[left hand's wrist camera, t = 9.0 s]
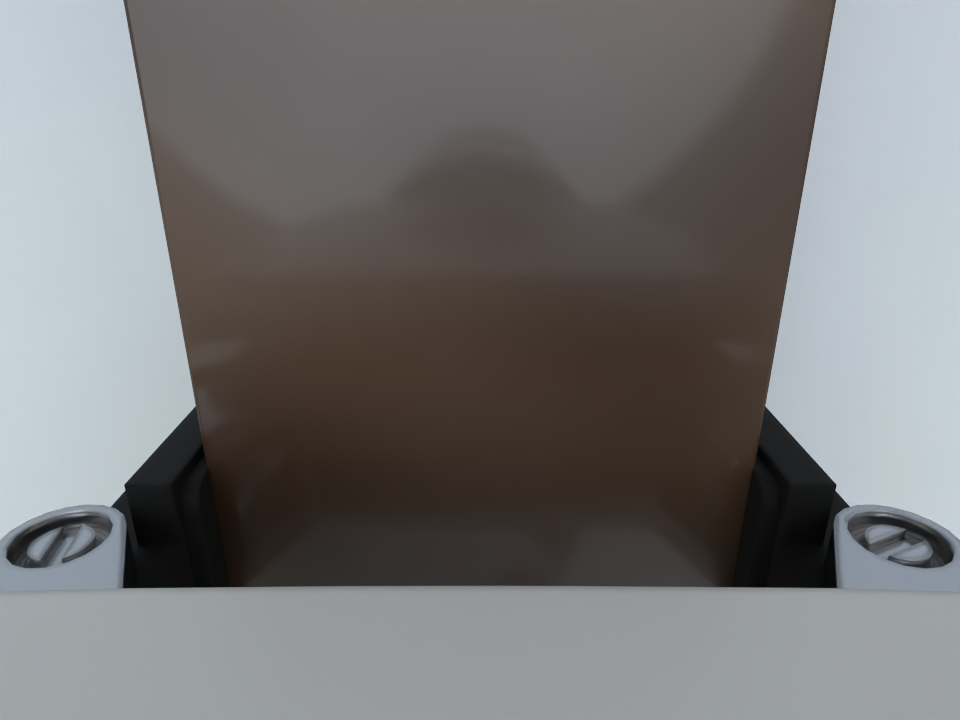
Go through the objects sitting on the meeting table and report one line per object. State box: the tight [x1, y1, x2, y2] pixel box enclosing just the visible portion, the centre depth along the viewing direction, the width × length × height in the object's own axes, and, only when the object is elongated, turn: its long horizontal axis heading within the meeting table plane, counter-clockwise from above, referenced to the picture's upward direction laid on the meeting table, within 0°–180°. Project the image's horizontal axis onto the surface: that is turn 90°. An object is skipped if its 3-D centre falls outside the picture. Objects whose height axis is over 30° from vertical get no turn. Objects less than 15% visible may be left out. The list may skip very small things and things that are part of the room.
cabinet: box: [124, 0, 836, 587], centre depth 11 cm, size 19×6×10 cm, turn 0°
